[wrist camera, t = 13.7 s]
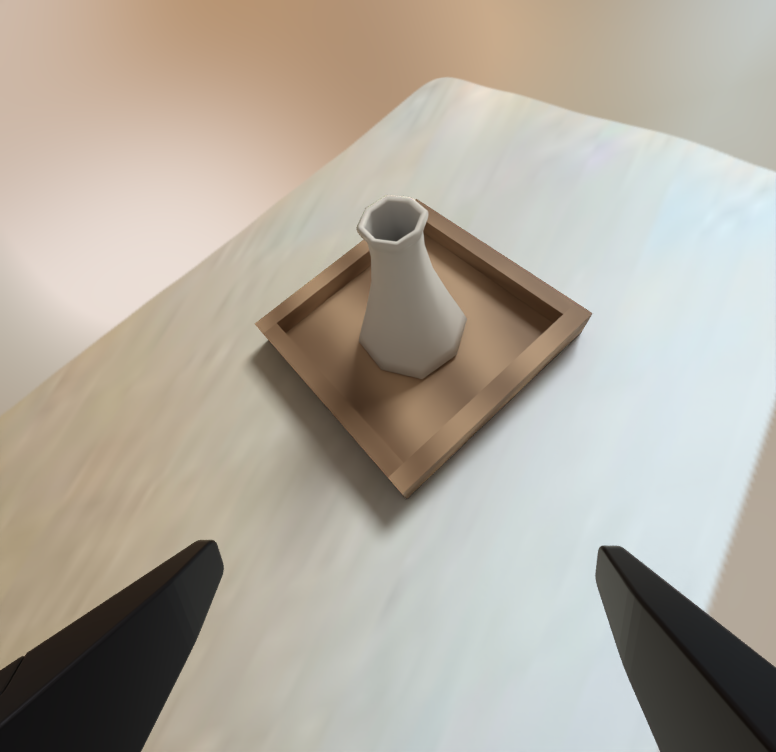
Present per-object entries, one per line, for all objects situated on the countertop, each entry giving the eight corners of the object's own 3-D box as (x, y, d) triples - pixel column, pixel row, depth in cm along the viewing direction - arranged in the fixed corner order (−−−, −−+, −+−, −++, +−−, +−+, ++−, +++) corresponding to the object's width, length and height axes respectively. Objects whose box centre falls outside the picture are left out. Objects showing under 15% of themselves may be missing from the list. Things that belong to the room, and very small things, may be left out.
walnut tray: (406, 499, 22) (402, 494, 20) (268, 339, 29) (254, 323, 27) (581, 331, 25) (592, 313, 23) (418, 220, 32) (416, 199, 30)
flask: (426, 398, 24) (409, 308, 15) (342, 346, 27) (285, 243, 18) (485, 317, 26) (502, 193, 17) (401, 276, 28) (377, 150, 19)
